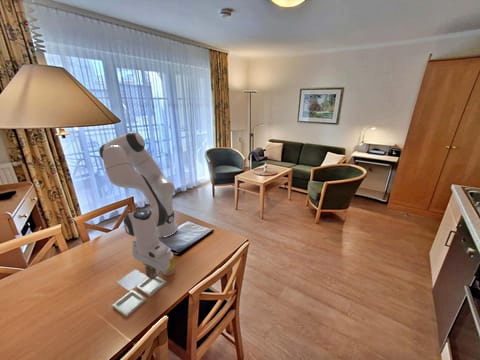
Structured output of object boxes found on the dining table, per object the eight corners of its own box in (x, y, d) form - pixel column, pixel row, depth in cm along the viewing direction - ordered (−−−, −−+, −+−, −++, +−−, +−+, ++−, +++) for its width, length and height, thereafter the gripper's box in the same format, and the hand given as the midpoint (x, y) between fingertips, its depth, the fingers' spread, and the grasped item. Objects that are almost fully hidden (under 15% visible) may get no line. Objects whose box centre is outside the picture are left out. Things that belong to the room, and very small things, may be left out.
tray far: (113, 308, 88) (112, 304, 88) (132, 292, 96) (132, 289, 95) (126, 318, 84) (125, 315, 84) (146, 301, 92) (145, 298, 91)
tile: (116, 283, 101) (116, 282, 100) (135, 270, 109) (135, 269, 109) (129, 292, 96) (129, 291, 96) (148, 277, 104) (148, 276, 104)
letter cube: (146, 276, 97) (145, 267, 95) (154, 270, 100) (152, 261, 98) (153, 279, 95) (151, 270, 93) (160, 273, 98) (158, 264, 97)
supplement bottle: (177, 268, 111) (175, 247, 106) (170, 277, 105) (167, 255, 100) (166, 265, 112) (164, 244, 108) (158, 274, 106) (155, 252, 102)
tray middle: (136, 289, 97) (136, 286, 97) (153, 276, 105) (152, 273, 104) (150, 297, 93) (149, 294, 93) (166, 284, 101) (165, 280, 100)
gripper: (126, 242, 94) (131, 267, 99) (159, 257, 85) (163, 284, 90) (138, 235, 99) (143, 259, 104) (170, 248, 90) (174, 274, 95)
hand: (152, 271), depth 97 cm, fingers closed on letter cube, 4 cm apart
